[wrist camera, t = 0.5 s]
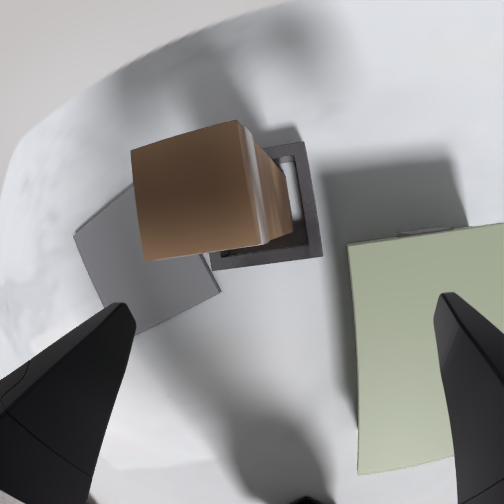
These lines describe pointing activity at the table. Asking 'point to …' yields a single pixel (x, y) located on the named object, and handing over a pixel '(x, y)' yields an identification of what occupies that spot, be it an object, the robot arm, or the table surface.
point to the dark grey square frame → (314, 247)
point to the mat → (139, 268)
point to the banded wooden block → (208, 193)
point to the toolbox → (414, 335)
